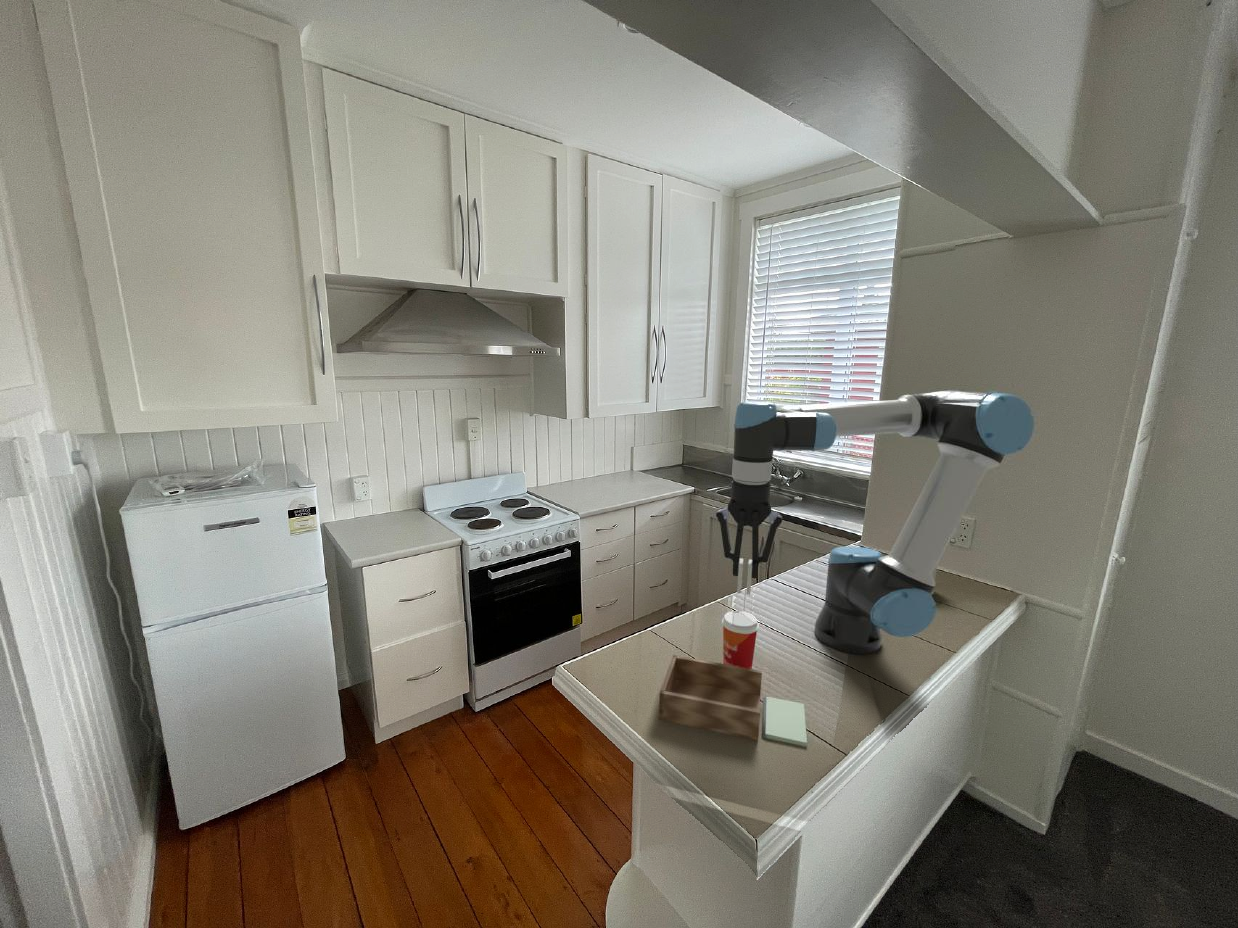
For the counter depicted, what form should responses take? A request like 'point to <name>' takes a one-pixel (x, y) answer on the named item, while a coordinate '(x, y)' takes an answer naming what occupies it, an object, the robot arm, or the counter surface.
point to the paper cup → (739, 638)
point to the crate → (712, 696)
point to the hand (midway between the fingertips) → (743, 590)
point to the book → (784, 721)
